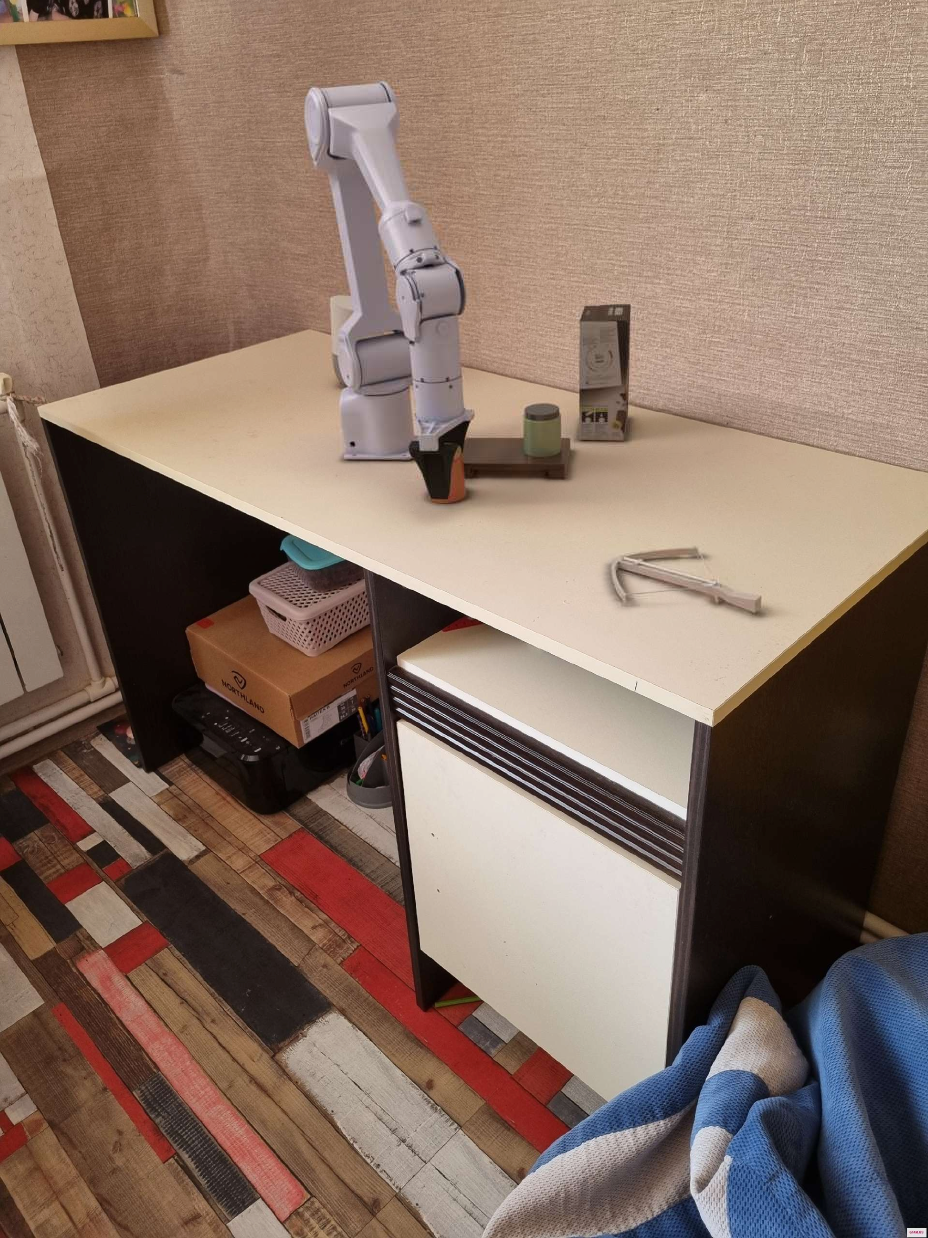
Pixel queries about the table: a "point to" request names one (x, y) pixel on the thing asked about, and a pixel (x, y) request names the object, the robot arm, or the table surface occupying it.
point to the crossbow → (680, 577)
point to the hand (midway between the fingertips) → (445, 485)
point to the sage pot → (542, 430)
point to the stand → (512, 456)
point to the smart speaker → (339, 316)
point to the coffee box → (604, 372)
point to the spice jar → (455, 480)
